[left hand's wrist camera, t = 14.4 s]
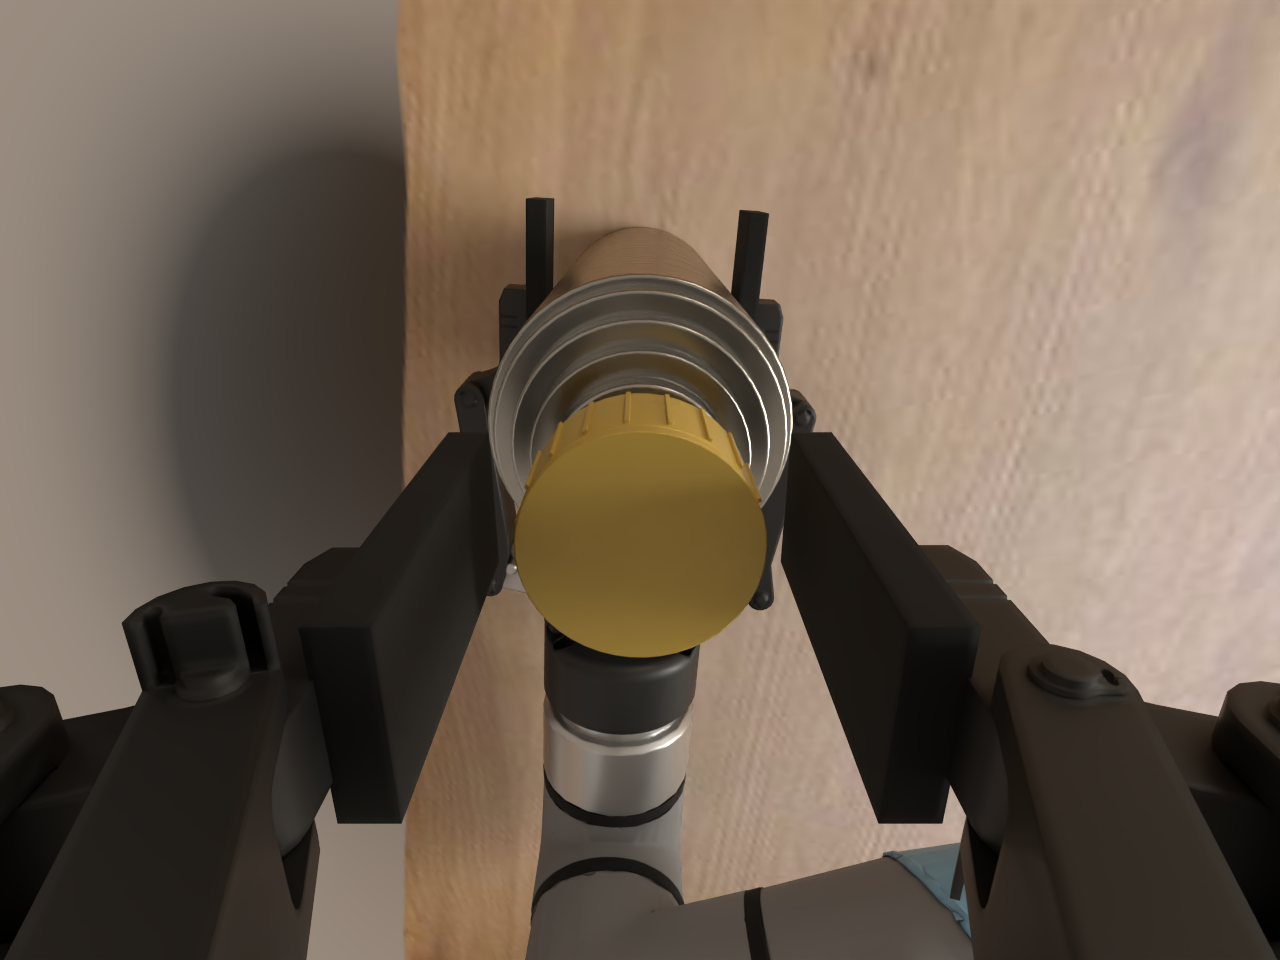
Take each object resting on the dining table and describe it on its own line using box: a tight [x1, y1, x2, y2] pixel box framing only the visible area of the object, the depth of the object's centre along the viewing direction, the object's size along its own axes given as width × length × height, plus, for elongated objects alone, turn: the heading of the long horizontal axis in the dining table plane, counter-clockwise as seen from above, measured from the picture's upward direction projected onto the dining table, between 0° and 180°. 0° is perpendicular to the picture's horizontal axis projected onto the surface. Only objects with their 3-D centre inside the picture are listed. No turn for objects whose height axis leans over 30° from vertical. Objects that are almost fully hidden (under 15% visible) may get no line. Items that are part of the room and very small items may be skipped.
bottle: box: [488, 227, 793, 508], centre depth 24 cm, size 8×8×26 cm
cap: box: [514, 392, 767, 657], centre depth 13 cm, size 4×4×2 cm
